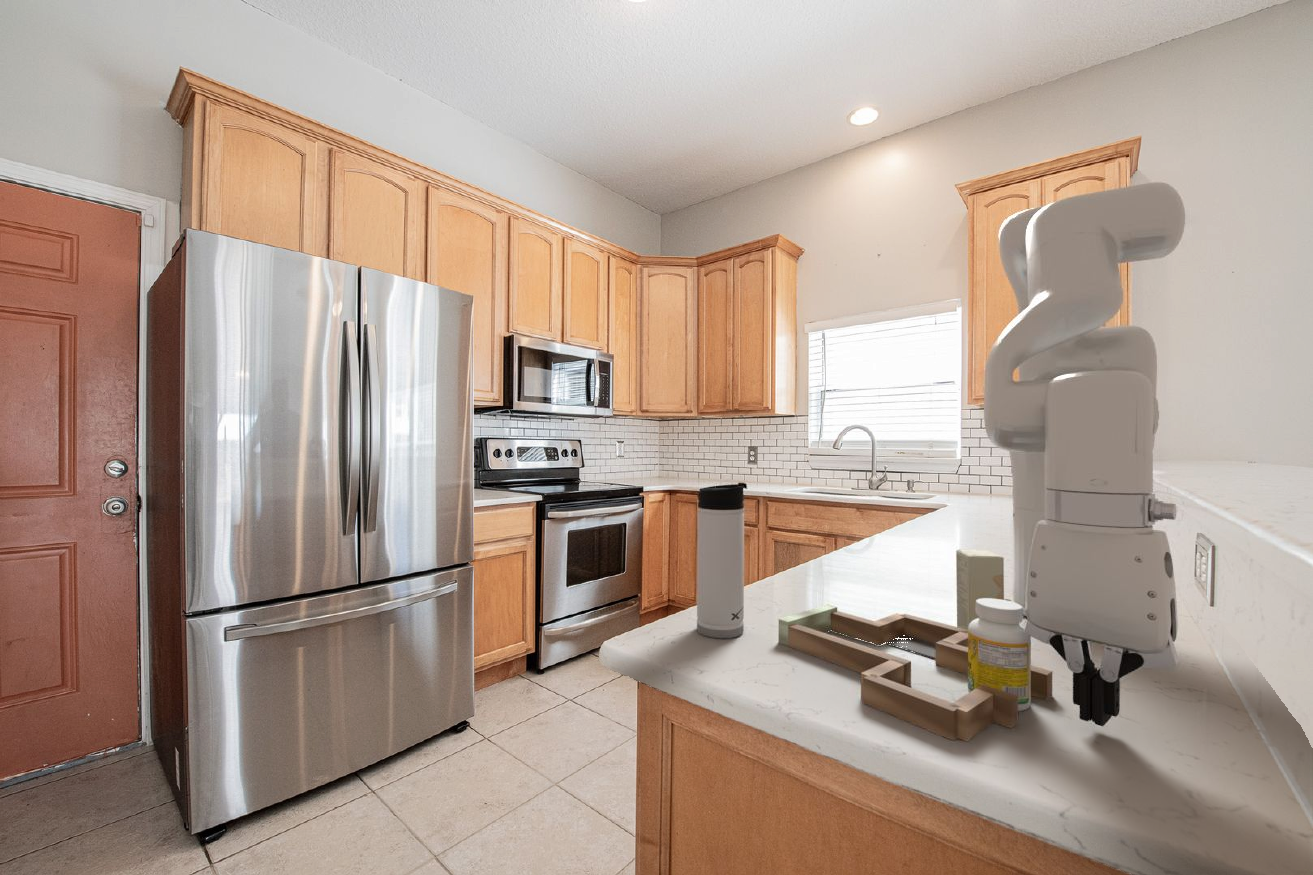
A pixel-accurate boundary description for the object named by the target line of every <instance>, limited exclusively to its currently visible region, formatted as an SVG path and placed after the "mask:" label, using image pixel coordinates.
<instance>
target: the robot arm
mask: <svg viewBox="0 0 1313 875" xmlns="http://www.w3.org/2000/svg"><path fill="white" fill-rule="evenodd" d="M1185 212H1186V210H1185V207H1184V203H1183V200H1182V197H1181V195H1180V193H1179V192H1178V190H1176V189H1175V187H1173V186H1172V185H1170V184H1169V183H1165V182H1161V181H1158V182H1157V181H1155V182H1146V183H1141V184H1135V185H1130V186H1125V187H1119V188H1113V189H1112V188H1111V189H1107V190H1102V191H1096V192H1090V193H1089V192H1088V193H1084V194H1078V195H1074V196H1070V197H1069V196H1068V197H1065V198H1062V199H1059V200H1056V201H1054V202H1051V203H1049V204H1046V205H1045V204H1044V205H1040V206H1036V207H1032V208H1029V209H1025V210H1023V211H1019V212H1017V213H1015V214H1013V215H1011V216H1009V217H1008V218H1007V219H1005V220H1004V221H1003V223H1002V224H1001V227H1000V228H999V232H998V251H999V256H1000V261H1001V264H1002V267H1003V270H1004V273H1005V275H1006V277H1007V279H1008V282H1009V284H1010V286H1011V288H1012V290H1013V293H1014V296H1015V299H1016V302H1017V311H1018V313H1017V314H1018V315H1017V316H1016V317H1015V318H1014V319H1013V320H1012V321H1011V322H1010V323H1009V324H1008V325H1007V326H1006V327H1004V329H1003V331H1002V332H1001V333H1000V335H999V336H998V337H997V339H996V340H995V342H994V344H993V345H992V347H991V349H990V351H989V354H988V356H987V360H986V364H985V370H984V383H983V384H984V387H983V388H984V389H983V391H984V394H983V400H984V401H983V418H984V419H983V420H984V427H985V433H986V435H987V437H988V439H989V441H990V442H991V443H992V445H993V446H995V447H996V448H999V449H1000V450H1003V451H1007V452H1009V453H1008V454H1009V457H1010V465H1011V474H1012V477H1011V478H1012V507H1013V509H1012V510H1013V511H1012V548H1013V549H1012V588H1013V589H1012V593H1007V594H1004V600H1006V601H1010V602H1014V603H1017V604H1019V605H1021V606H1022V608H1023V617H1026V619H1027V621H1026V623H1025V627H1024V628H1025V632H1026V634H1027V635H1029V636H1031V638H1033V639H1035V640H1038V641H1040V642H1041V643H1044V644H1047V645H1050V646H1051V647H1052V648H1053V649H1054V650H1055V651H1056V653H1057V654H1058V655H1059V656H1060V657H1061V658H1062V659H1063V660H1064V661H1065V662H1066V665H1067V668H1068V669H1069V670H1070V671H1071V672H1072V703H1073V704H1074V705H1077V706H1078V707H1079V719H1080V720H1082V721H1084V722H1089V721H1090V722H1091V721H1092V722H1093V723H1094V724H1095V725H1097V726H1100V727H1104V726H1105V725H1106V724H1107V723H1108V722H1109V720H1111V719H1112V717H1114V718H1116V717H1118V716H1119V713H1120V707H1121V706H1120V705H1121V704H1120V702H1121V701H1120V698H1121V697H1120V695H1121V694H1120V693H1121V690H1120V689H1121V686H1120V685H1121V682H1120V681H1121V678H1123V677H1125V676H1127V675H1129V674H1130V673H1132V672H1135V671H1137V670H1138V669H1147V670H1161V671H1162V670H1163V671H1173V670H1175V669H1176V668H1177V667H1178V666H1179V664H1180V659H1179V656H1178V653H1177V650H1176V647H1175V643H1174V642H1175V641H1176V640H1177V636H1178V628H1179V626H1178V625H1179V622H1178V621H1179V620H1178V604H1177V603H1178V602H1177V591H1176V580H1175V579H1176V577H1175V572H1174V566H1173V564H1174V563H1173V559H1172V557H1173V556H1172V553H1171V549H1170V544H1169V539H1168V537H1167V533H1166V532H1165V531H1163V530H1158V529H1154V528H1153V525H1156V523H1157V522H1158V521H1164V520H1170V521H1172V520H1174V521H1175V520H1176V518H1177V505H1176V503H1168V502H1167V503H1166V502H1165V501H1163V500H1161V501H1160V500H1159V498H1156V493H1153V490H1154V489H1153V487H1154V485H1153V484H1154V483H1153V482H1154V477H1153V476H1154V463H1153V462H1154V454H1153V451H1154V447H1155V438H1156V433H1157V432H1158V431H1157V430H1158V426H1159V419H1160V410H1159V402H1158V399H1157V386H1158V385H1157V382H1158V380H1157V379H1158V357H1157V356H1158V355H1157V348H1156V344H1155V343H1156V342H1154V339H1153V337H1152V335H1151V333H1150V332H1148V330H1146V329H1145V328H1143V327H1140V326H1137V325H1111V326H1104V325H1105V324H1107V323H1108V322H1109V321H1110V320H1112V319H1113V318H1114V317H1115V316H1116V314H1118V313H1119V312H1120V309H1121V308H1122V305H1123V301H1124V292H1123V286H1122V284H1123V283H1122V278H1121V274H1120V268H1119V267H1120V264H1124V263H1125V264H1126V263H1134V262H1140V261H1143V262H1144V261H1149V260H1155V259H1162V258H1165V257H1167V256H1169V255H1170V254H1171V253H1172V252H1174V251H1175V249H1176V248H1177V247H1179V246H1178V245H1179V244H1180V242H1181V240H1182V238H1183V234H1184V232H1185V226H1186V225H1185V224H1186V213H1185ZM1016 369H1018V378H1019V380H1017V381H1016V380H1014V378H1013V376H1014V372H1015V370H1016ZM1090 642H1091V643H1096V644H1100V645H1103V646H1104V648H1103V653H1102V654H1103V655H1102V658H1101V664H1100V667H1099V668H1098V667H1095V666H1096V664H1095V662H1094V661H1093V654H1092V651H1091V650H1092V649H1091V645H1090Z"/></svg>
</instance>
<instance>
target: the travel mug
mask: <svg viewBox="0 0 1313 875" xmlns="http://www.w3.org/2000/svg"><path fill="white" fill-rule="evenodd" d="M747 485H748V484H747V483H746V482H737V484H736V483H734V484H732V483H731V484H720V485H719V484H718V485H713V486H707V487H702V488H699V491H697V492H698V493H697V496H698V497H697V500H698V502H697V538H696V539H697V542H696V543H697V548H696V549H697V552H696V553H697V555H696V556H697V562H696V563H697V566H696V568H697V570H696V571H697V572H696V573H697V574H696V577H697V579H696V580H697V582H696V593H697V594H696V595H697V596H696V618H697V619H696V629H697V631H698V633H699V634H701V635H702V636H704V637H709V638H712V639H726V640H727V639H733V638H737V637H740V636H741V635H742V634H743V633H744V629H745V628H744V626H745V625H744V619H745V618H744V616H745V615H744V613H745V610H744V609H745V607H744V606H745V601H744V600H745V595H744V594H745V593H744V592H745V503H744V499H745V497H744V489H746V490H747V489H748V486H747Z"/></svg>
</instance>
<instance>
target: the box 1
mask: <svg viewBox="0 0 1313 875" xmlns="http://www.w3.org/2000/svg"><path fill="white" fill-rule="evenodd" d="M830 630H832V631H834V632H837V633H836V634H838V633H841V634H844V635H847V636H849V637H848V638H850V637H852V638H851V639H853V638H858V639H861V640H864V641H867V642H872V643H874V644H876V645H881V644H883V643H885V642H886V643H887V642H888V644H891V645H894V646H898V647H902V646H903V647H902V648H904V649H907V650H908V651H907V650H906V651H907V652H910V651H913V652H915V653H914V654H916V653H918V654H917V655H919V654H921V655H920V656H923V655H925V656H924V657H926V656H928V657H927V658H929V657H931V658H930V659H932V658H933V660H935V661H934V662H935V664H937V665H936V666H938V665H939V667H941V666H942V668H945V669H948V670H951V671H955V672H957V673H961V674H964V675H967V676H968V630H966V629H963V628H959V627H957V626H954V625H950V624H948V623H947V624H946V623H943V622H938V621H935V620H931V619H928V618H923V617H919V616H915V615H911V614H907V613H903V614H901V613H894V614H891V615H888V616H885V617H883V618H880V619H876V620H871V619H868V618H865V617H860V616H856V615H854V614H851V613H847V612H844V611H840V610H838V606H835V605H831V604H826V605H822V606H818V607H815V608H811V609H808V610H804V611H801V612H798V613H795V614H791V615H788V616H784V617H780V618H778V643H779V644H780V645H784V646H787V647H788V648H789V647H790V648H792V649H795V650H796V651H797V650H798V651H801V652H803V653H806V654H809V655H811V656H814V657H816V658H819V659H822V660H824V661H827V662H830V663H833V664H836V665H838V666H841V667H844V668H847V669H849V670H852V671H855V672H857V673H860V672H861V673H860V699H862V700H863V704H865V705H867V706H869V707H872V708H874V709H876V710H879V711H882V712H884V713H886V714H889V715H890V716H894V717H895V718H898V719H901V720H903V721H906V722H907V723H910V724H913V725H915V726H917V727H919V728H923V729H925V730H927V731H930V732H931V733H935V734H937V735H939V736H941V737H944V738H947V739H949V740H952V741H955V740H956V739H960V740H962V741H965V742H968V741H969V740H970V739H971V738H973V737H974V736H976V735H977V734H978V733H980V732H981V731H983V730H984V729H985V728H987V727H988V726H990V725H991V724H992V723H995V724H998V725H1001V726H1004V727H1006V728H1009V729H1013V728H1014V727H1015V726H1017V725H1018V724H1019V723H1018V722H1019V711H1018V696H1017V695H1014V694H1011V693H1008V692H1004V691H1001V690H998V689H995V688H992V687H989V686H986V685H983V684H982V685H981V686H979V687H978V688H976V689H974V690H973V691H971V692H970V693H969V692H968V693H966V694H965V695H962V697H960V698H958V699H957V700H955V701H953V702H951V701H948V700H945V699H942V698H940V697H937V696H934V695H931V694H929V693H927V692H923V691H920V690H918V689H915V688H912V687H910V686H911V685H912V660H909V659H905V658H902V657H900V656H897V655H893V654H890V653H888V652H887V653H886V652H884V651H881V650H878V649H874V648H871V647H868V646H866V645H863V644H859V643H857V642H853V641H850V640H848V639H845V638H844V639H843V638H842V637H841V638H840V637H838V636H835V635H831V634H828V633H829V632H828V631H830ZM826 632H827V633H826ZM830 632H831V631H830ZM834 632H833V633H834ZM841 634H840V635H841ZM844 635H843V636H844ZM903 635H905V636H903ZM847 636H846V637H847ZM898 637H899V638H908V639H906V640H905V639H904V640H903V639H902V640H901V639H898V640H897V639H895V638H898ZM909 638H911V640H910V639H909ZM912 638H913V639H912ZM893 639H894V640H893ZM889 642H890V643H889ZM891 642H892V643H891ZM893 642H894V643H893ZM897 642H898V643H897ZM899 642H900V643H899ZM901 642H904V643H901ZM905 642H906V643H905ZM907 642H908V643H907ZM891 645H890V646H891ZM894 646H893V647H894ZM906 646H907V647H906ZM913 652H912V653H913ZM935 664H934V665H935ZM1031 697H1036V698H1039V699H1042V700H1045V701H1048V700H1049V699H1050V698H1052V697H1053V671H1052V670H1049V669H1045V668H1042V667H1039V666H1035V665H1032V664H1031Z"/></svg>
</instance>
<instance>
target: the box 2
mask: <svg viewBox="0 0 1313 875" xmlns="http://www.w3.org/2000/svg"><path fill="white" fill-rule="evenodd" d="M955 551H956V552H955V554H956V555H955V556H956V558H955V561H956V564H955V566H956V627H959V628H963V629H966V630H968V627H969V624H970V623H971V622H972V621H973V620H975V619H977V618H979V617H978V616H977V614H976V611H975V610H976V600H977V599H981V598H993V599H1001V600H1004V595H1005V588H1004V587H1005V583H1004V582H1005V580H1004V579H1005V578H1004V577H1005V575H1004V574H1005V573H1004V572H1005V570H1004V564H1005V561H1004V559H1005V558H1004V556H1002V555H999V554H997V553H994V552H992V551H990V550H982V549H981V550H980V549H979V550H978V549H956V550H955Z"/></svg>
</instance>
